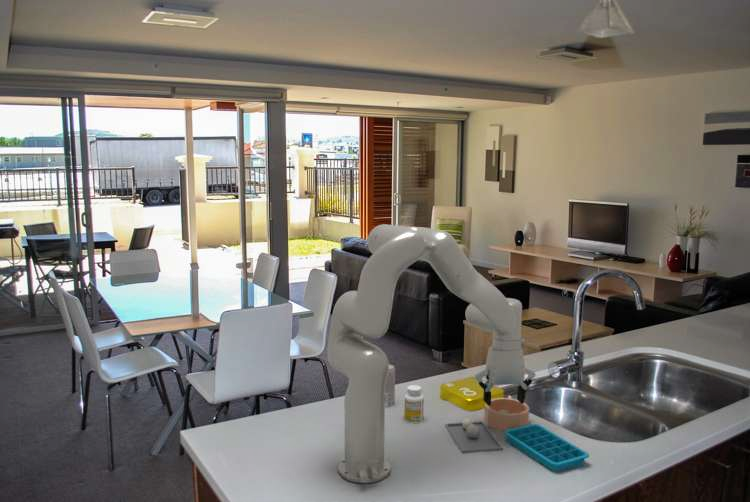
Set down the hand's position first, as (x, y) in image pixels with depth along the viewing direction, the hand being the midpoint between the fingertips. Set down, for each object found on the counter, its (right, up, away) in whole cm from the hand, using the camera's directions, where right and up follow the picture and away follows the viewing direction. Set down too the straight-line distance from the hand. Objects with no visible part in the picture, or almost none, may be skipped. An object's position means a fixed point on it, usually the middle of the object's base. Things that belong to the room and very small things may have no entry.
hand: (504, 402), depth 172 cm
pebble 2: (-10, -8, -7) cm, 14 cm away
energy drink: (-33, -4, +15) cm, 36 cm away
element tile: (-6, -4, +19) cm, 21 cm away
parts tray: (-10, -8, -7) cm, 14 cm away
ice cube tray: (+7, -10, -14) cm, 19 cm away
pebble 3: (0, -6, +1) cm, 6 cm away
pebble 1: (-11, -7, -2) cm, 13 cm away
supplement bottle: (-25, -6, +5) cm, 26 cm away
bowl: (+1, -6, +3) cm, 7 cm away
